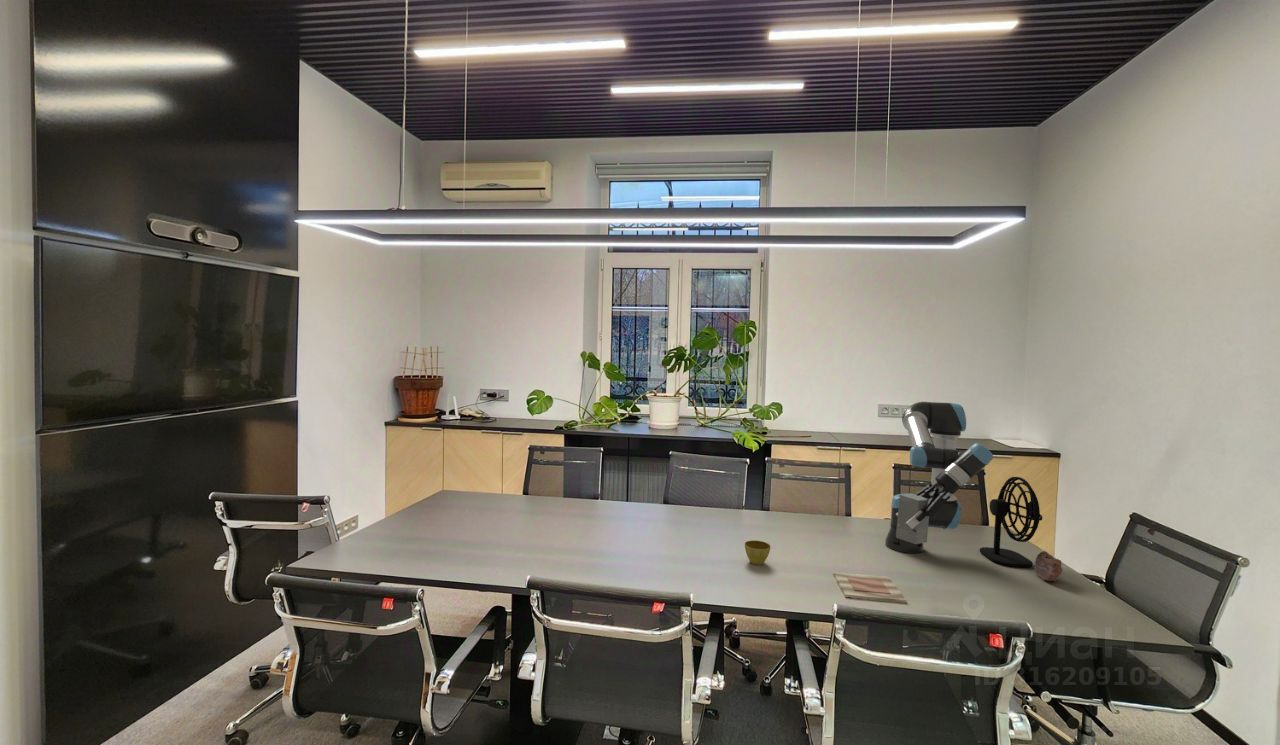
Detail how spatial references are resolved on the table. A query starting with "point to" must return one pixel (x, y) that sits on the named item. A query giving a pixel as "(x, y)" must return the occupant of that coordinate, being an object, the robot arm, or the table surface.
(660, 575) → the table surface
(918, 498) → the skincare box
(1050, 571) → the stone
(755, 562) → the flower pot
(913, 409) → the robot arm
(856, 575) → the seat board
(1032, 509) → the desk fan
